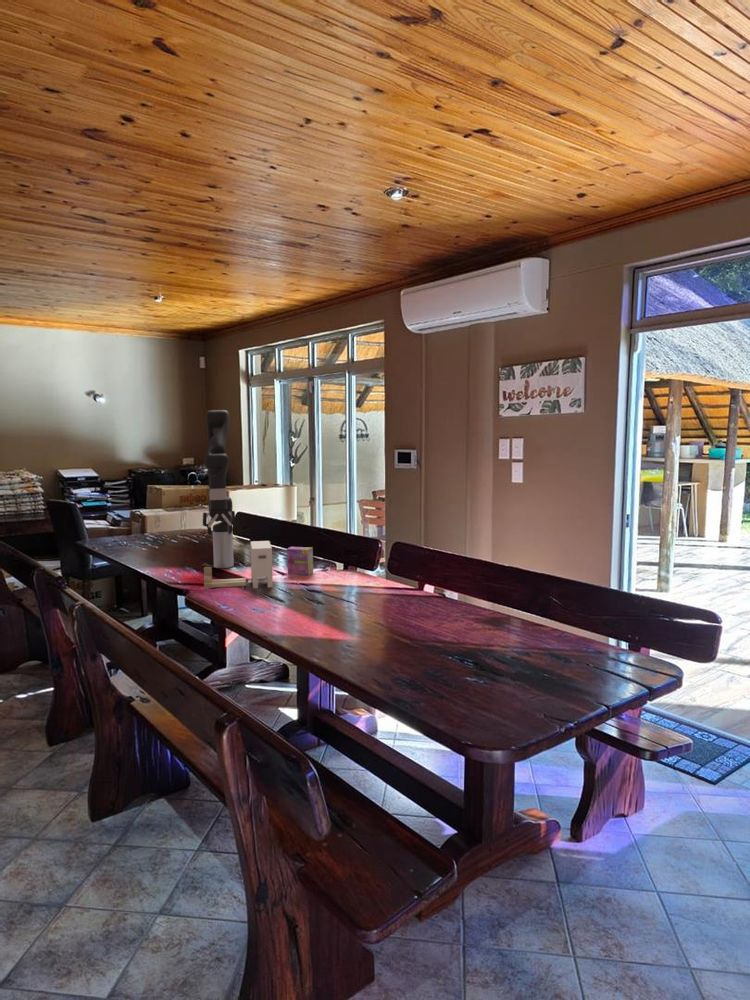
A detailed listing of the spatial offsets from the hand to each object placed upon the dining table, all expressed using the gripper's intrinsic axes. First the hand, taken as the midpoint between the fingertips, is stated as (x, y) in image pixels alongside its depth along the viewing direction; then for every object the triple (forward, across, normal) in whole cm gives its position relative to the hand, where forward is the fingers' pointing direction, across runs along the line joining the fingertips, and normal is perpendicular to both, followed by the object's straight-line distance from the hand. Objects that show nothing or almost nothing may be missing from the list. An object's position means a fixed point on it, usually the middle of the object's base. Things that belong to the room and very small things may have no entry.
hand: (219, 534), depth 286 cm
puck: (+20, -12, +22) cm, 32 cm away
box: (+19, -33, +12) cm, 40 cm away
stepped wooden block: (+20, +2, +18) cm, 27 cm away
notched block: (+20, -12, +22) cm, 32 cm away
